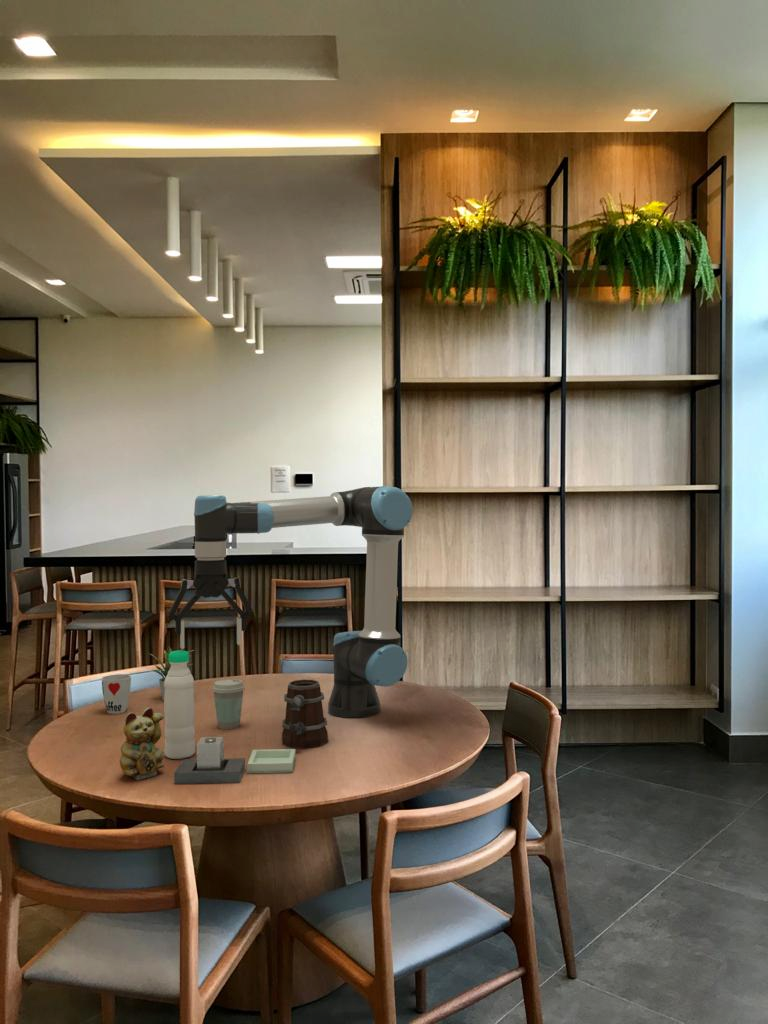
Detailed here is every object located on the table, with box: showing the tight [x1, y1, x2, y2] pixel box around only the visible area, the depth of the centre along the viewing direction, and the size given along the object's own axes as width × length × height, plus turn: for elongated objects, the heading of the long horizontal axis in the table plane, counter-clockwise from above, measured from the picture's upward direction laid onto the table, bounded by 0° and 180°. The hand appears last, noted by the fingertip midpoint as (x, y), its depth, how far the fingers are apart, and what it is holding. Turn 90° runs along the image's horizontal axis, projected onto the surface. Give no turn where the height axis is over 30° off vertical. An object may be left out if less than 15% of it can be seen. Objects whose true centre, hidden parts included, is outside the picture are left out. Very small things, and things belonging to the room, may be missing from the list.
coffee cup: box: [212, 678, 245, 730], centre depth 216 cm, size 8×9×12 cm
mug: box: [281, 678, 329, 749], centre depth 199 cm, size 16×12×15 cm
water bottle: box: [163, 650, 196, 760], centre depth 191 cm, size 7×7×25 cm
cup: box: [101, 673, 132, 715], centre depth 231 cm, size 8×8×10 cm
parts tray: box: [246, 748, 296, 775], centre depth 183 cm, size 10×10×2 cm
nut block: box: [196, 736, 225, 771], centre depth 177 cm, size 5×5×8 cm
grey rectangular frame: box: [173, 757, 246, 785], centre depth 177 cm, size 14×9×2 cm, turn 92°
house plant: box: [149, 646, 195, 702], centre depth 245 cm, size 14×14×16 cm
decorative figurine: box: [119, 707, 165, 781], centre depth 178 cm, size 10×8×15 cm
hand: (211, 646), depth 193 cm, fingers open, 13 cm apart
